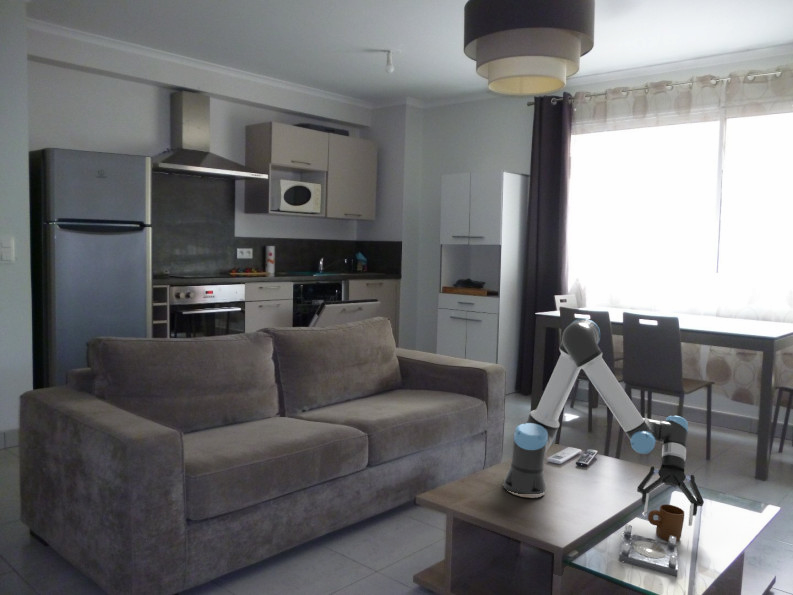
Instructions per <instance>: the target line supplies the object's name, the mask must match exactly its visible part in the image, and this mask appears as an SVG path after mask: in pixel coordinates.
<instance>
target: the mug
mask: <svg viewBox="0 0 793 595" xmlns="http://www.w3.org/2000/svg"><path fill="white" fill-rule="evenodd" d="M654 516H657V519H654ZM647 519H648V522H649V523H650V525H652V526H656V528H655V534H656V536H657V537H659V539H662V540H664V541H667V542H669V536H670V535H672V536H675V537H676V542H680V540H681V538H682V533H683V532H682V531H683V526H684V521H685V511H684V510H683V509H682V508H680V507H678V506H675V505H672V504H661V505H660V506H659V510H657V509H653V510H650V512H648V514H647Z"/></svg>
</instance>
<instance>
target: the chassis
mask: <svg viewBox="0 0 793 595" xmlns="http://www.w3.org/2000/svg"><path fill="white" fill-rule="evenodd" d="M632 530H633V526H632V525H631V524H627V523H626V524H625V526H624V531H622V535H621V539H620V540H621V542H620V547H619V548H620V549H619V557H618V561H619V560H621V561H624V562H623V563H625V562H626V564H629V565H633V566H636V567H641V568H644V569H647V570H651V571H656V572H659V573H663V574H666V575H669V576H674V577H677V576H678V568H679V566H678V546H677V545H676V537H675V536H672V535H670V536H669V541H667V542H665V541H662V540H658V539H654V538H649V537H645V536H641V535H637V534H635V533H634V534H633V533H632ZM621 561H620V562H621Z"/></svg>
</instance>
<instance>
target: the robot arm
mask: <svg viewBox="0 0 793 595" xmlns="http://www.w3.org/2000/svg"><path fill="white" fill-rule="evenodd" d="M600 342H601V331H600V327H599V326H598V324H597V323H596V322H595V321H593V320H590V319H588V318H577V319H576V320H573V321H572V322H571V323H570V324H569V325H568V326H566V328H565V329H564V331H563V332H562V336H561V343H560V345H559V347H558V349H559V352H560V355H559V357H558V360H557V362H556V365H555V366H554V369H553V371H552V374H551V376H550V378H549V381H548V382H547V384H546V386H545V388H544V391H543V394H542V396H541V398H540V400H539V403H538V405H537V407H536V408H535V409H534V410H531V411H530V413H529V414H528V417H527V420H526V422H525V423H521V424H519V425H517V426H516V427H515V430H514V433H513V443H512V444H513V445H512V450H511V451H512V452H511V461H510V466H509V469H508V470H507V472H506V475H505V477H504V479H503V485H502V487H503V486H504V487H503V489H504V488H505V489H506V490H508V491H511V492H514V493H518V494H540V493H543V492H545V493H546V491H545V490H547V487H546V481H545V476H544V469H545V468H544V467H545V461H546V460H545V457H546V453H547V452H548V450H549V448H550V446H552V444H553V443H554V441H555V439H556V434H557V432H558V429H559V427H560V424H561V423H560V422H559V417H560V415H561V413H562V411H563V408H564V407H565V405H566V402H567V400H568V398H569V396H570V393H571V391H572V389H573V387H574V385H575V382H576V380H577V379H578V376H579V374H580V371H581V370H583V372H584V373H585V375H586V377H587V378H588V379H589V380H590V382H591V383H592V385H593V386H594V388H595V390H596V391H597V392H598V394H599V395H600V397H601V398H602V400H603V401H604V403H605V404H606V407H608V408H609V410H610V412H611V413H612V415H613V416H614V418H615V419H616V420H617V422H618V423H619V425H620V427H621V428H622V429H623V431H624V432H625V435H626V436H627V437H628V439H629V440H630V441H629V442H630V445H631V448H632V450H634V451H635V452H636V453H638V454H642V455H646V454H649V453H651V452H652V451H653V450H654V447H656V443H662V450H661V460H660V466H659V467H660V469H657V468H655V467H654V466H650V470H649V472H648V473H647V475H646V476H645V477H644V478H643V480H642V481H641V482H640V484H638V486H637V488H636V492H637V493H640V494H641V504H643V505H644V508H643V516H647V515H648V514H647V513H648V504H649V497H650V493H651V492H652V491H654V490H655V489H657V487H659V486H661V485H663V484H665V486H672V487H678V488H679V490H681V492H682V493H683V494H684V496H685V498H687V500H688V501H689V502H690V505H689V515H688V516H689V517H688V526H690V527H691V526H692V524H693V521H694V520H693V517H696V516H697V513H698V507H703V505H704V502H705V501H704V499H703V497H702V495H701V492H700V490H699V488H698V485H697V484H696V480H695V475H693V474H691V475H686V474H685V469H686V457H687V445H688V438H689V437H688V436H689V422H688V420H686V418H684V417H682V416H679V415H669V416H667V417H666V418H665V420H657V419H652V418H647V417H643V416H642V415H641V413H640V412H639V411H638V409H637V407H636V406H635V404H634V403H633V401H632V400H631V399H630V397H629V395H628V394H627V393H626V391H625V389H624V388H623V386H622V385H621V384H620V382H619V381H618V379H617V377H616V376H615V374H614V373H613V372H612V370H611V369H610V367H609V366H608V365H607V363H606V362H605V360H604V359H603V352H602V350H601V348H600V347H599V345H598V344H599V343H600ZM656 474H657V475H658V476H659V478H657V479H656V480H655V481H653V482H652V483H651V484H649V485H647V484H648V483H649V482H650V480H651V479H652V478H653V476H656ZM685 480H686V481H687V483H688V484H689V486H690V488H691V490H692V492H691V491H690V489H689V488H688V487H687V486H686V484H685V482H684V481H685ZM645 486H647V487H645ZM505 489H504V490H505ZM506 490H505V491H506ZM692 493H693V494H692Z"/></svg>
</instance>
